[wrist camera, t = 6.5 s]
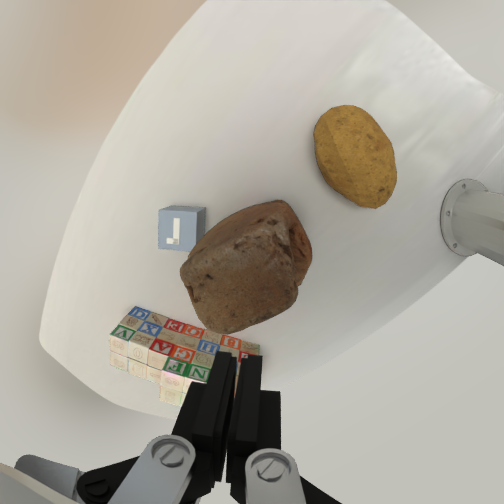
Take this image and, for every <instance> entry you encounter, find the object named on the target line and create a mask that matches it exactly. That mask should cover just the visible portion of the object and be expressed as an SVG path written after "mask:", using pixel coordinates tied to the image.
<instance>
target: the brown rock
mask: <svg viewBox="0 0 504 504" xmlns="http://www.w3.org/2000/svg"><path fill="white" fill-rule="evenodd" d="M311 261H312V248H311V244H310V241H309V239H308V237H307V235H306V233H305V231H304V229H303V227H302V225H301V223H300V221H299V219H298V218H297V216H296V214H295V213H294V211H293V210H292V208H291V207H290V206H289V205H288V204H287V203H286V202H284V201H283V200H275V201H271V202H266V203H262V204H258V205H254V206H251V207H248V208H246V209H243V210H241V211H239V212H237V213H234V214H232V215H231V216H229V217H227V218H225V219H224V220H222V221H221V222H219V223H218V224H217V225H215V226H214V227H213V228H212V229H210V230H209V231H208V232H207V233H206V234H205V235H204V236H203V237H202V238H201V239H200V240H199V241H198V243H197V244H196V245H195V246H194V247H193V249H192V250H191V252H190V254H189V256H188V260H187V261H186V262H185V263H184V264H183V265H182V267H181V269H180V276H181V279H182V281H183V283H184V285H185V287H186V289H187V290H188V293H189V296H190V299H191V302H192V305H193V307H194V309H195V311H196V314H197V316H198V318H199V319H200V321H201V322H202V323H203V324H204V325H205V327H206V328H207V329H208V330H210V331H212V332H214V333H218V334H231V333H235V332H238V331H241V330H244V329H246V328H248V327H250V326H252V325H255V324H258V323H261V322H263V321H265V320H268V319H270V318H272V317H274V316H276V315H278V314H280V313H282V312H283V311H285V310H287V309H288V308H290V307H291V306H292V305H293V303H294V302H295V301H296V298H297V295H298V288H297V287H298V286H299V285H301V283H302V280H303V279H304V277H305V274H306V273H307V270H308V268H309V266H310V264H311Z"/></svg>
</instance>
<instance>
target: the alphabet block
mask: <svg viewBox="0 0 504 504" xmlns="http://www.w3.org/2000/svg"><path fill="white" fill-rule="evenodd" d="M205 210H206V208H203V207H187V206H169V207H166V208H163V209H160V210H159V223H158V249H167V250H178V251H188V252H191V250H192V249H193V247H194V246H195V245H196V244H197V243H198V241H199V240H200V239H201V238H202V237H203V236H204V232H205Z"/></svg>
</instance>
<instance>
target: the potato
mask: <svg viewBox="0 0 504 504" xmlns="http://www.w3.org/2000/svg"><path fill="white" fill-rule="evenodd" d="M314 140H315V154H316V159H317V163H318V166H319V168H320V170H321V172H322V174H323V176H324V178H325V180H326V182H327V183H328V184H329V185H330V186H331V187H332V188H333V189H334V190H336V191H337V192H339V193H340V194H342V195H344V196H345V197H346V198H348V199H349V200H351V201H352V202H354V203H356V204H357V205H359V206H361V207H368V208H374V209H376V208H378V207H380V206H382V205H383V204H385V203H386V202H387V201H388V199H389V198H390V197H391V195H392V192H393V190H394V188H395V185H396V182H397V171H396V166H395V157H394V151H393V147H392V144H391V142H390V140H389V139H388V137H387V136H386V135H385V133H384V132H383V131H382V129H381V128H380V126H379V125H378V124H377V122H376V121H375V120H374V119H373V117H372V116H371V115H370V114H368V113H367V112H366V111H364V110H363V109H361V108H359V107H356V106H352V105H342V106H338V107H334V108H331V109H329V110H328V111H327V112H326V113H324V114H323V115H322V116H321V117H320V119H319V120H318V122H317V124H316V125H315V130H314Z"/></svg>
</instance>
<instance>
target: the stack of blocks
mask: <svg viewBox="0 0 504 504" xmlns="http://www.w3.org/2000/svg"><path fill="white" fill-rule="evenodd" d="M217 351H224V352H232V356H233V357H237V367H236V383H235V393H236V387H237V381H238V375H239V369H240V364H241V358H247V357H248V354H250V355H259V345H257V344H253V343H250V342H246V341H242V340H240V339H237V338H233V337H230V336H226V335H222V334H218V333H214V332H212V331H210V330H206V329H201V328H197V327H194V326H191V325H188V324H184V323H181V322H178V321H175V320H172V319H169V318H167V317H164V316H161V315H159V314H156V313H153V312H150V311H147V310H144V309H141V308H139V307H134V308H133V309H132V310H131V311H130V312H129V313H128V315H126V316H125V317H124V318H123V319H122V321H121V322H120V323H119V325H118V326H117V327H116V328H115V329H114V330H113V331H112V333H111V334H110V365H111V366H113V367H116V368H118V369H121V370H123V371H126V372H128V373H130V374H132V375H135V376H137V377H140V378H143V379H146V380H148V381H151V382H153V383H157V384H160V386H161V388H160V396H159V400H161V401H164V402H167V403H170V404H173V405H177V406H181V407H182V404H183V402H184V399H185V396H186V394H187V391H188V388H189V386H190V384H191V382H192V381H194V382H200V383H206V384H207V380H208V377H209V374H210V371H211V367H212V364H213V361H214V358H215V355H216V352H217Z"/></svg>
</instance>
